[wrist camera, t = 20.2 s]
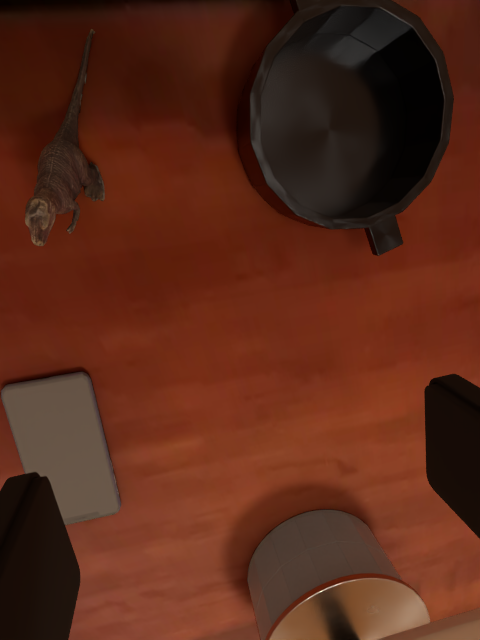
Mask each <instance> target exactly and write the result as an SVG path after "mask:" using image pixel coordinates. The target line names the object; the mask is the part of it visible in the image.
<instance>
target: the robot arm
mask: <svg viewBox="0 0 480 640" xmlns="http://www.w3.org/2000/svg"><path fill="white" fill-rule="evenodd" d="M425 431H426V473H427V478H428V481H429V484H430V485H431V487H432V488H433V490H434V491H435V492H436V493H437V494H438V495H439V496H440V497H441V498H442V499H443V500H444V501H445V502H446V503H447V504H448V505H449V507H450V508H451V509H452V510H453V511H454V512H455V513H456V514H457V515H458V516H459V517H460V518H461V519H462V520H463V521H464V522H465V523H466V525H467V526H468V527H469V528H470V529H471V530H472V531H473V532H474V533H475V534H476V535H477V536H478V537H479V538H480V388H479V387H477V386H476V385H474V384H472V383H471V382H469V381H467V380H465V379H464V378H462V377H460V376H459V375H456V374H450V375H446V376H442V377H438V378H433V379H432V380H431V381H430V383H429V386H427V387H426V388H425ZM79 586H80V569H79V565H78V562H77V559H76V556H75V553H74V550H73V548H72V545H71V542H70V539H69V536H68V533H67V530H66V527H65V524H64V521H63V518H62V516H61V513H60V510H59V507H58V504H57V501H56V498H55V495H54V492H53V489H52V486H51V483H50V481H49V479H48V477H47V476H43V477H40V475H39V474H38V473H37V472H31V473H27V474H23V475H19V476H14V477H10V478H8V479H7V480H6V482H5V484H4V485H3V487H2V489H1V491H0V640H68V638H69V634H70V629H71V624H72V619H73V615H74V610H75V605H76V600H77V596H78V591H79ZM377 640H480V608H477V609H474V610H471V611H467V612H464V613H461V614H458V615H454V616H451V617H448V618H445V619H441V620H438V621H435V622H432V623H428V624H425V625H422V626H419V627H416V628H412V629H409V630H406V631H403V632H400V633H397V634H393V635H390V636H387V637H384V638H381V639H377Z"/></svg>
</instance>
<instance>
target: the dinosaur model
mask: <svg viewBox="0 0 480 640" xmlns="http://www.w3.org/2000/svg"><path fill="white" fill-rule="evenodd" d="M93 33H95V31H94V30H93V29H91V30H90V33H89V35H88V37H87V40H86V44H85V48H84V53H83V57H82V58H83V59H82V63H81V67H80V72H79V76H78V80H77V83H76V86H75V89H74V92H73V96H72V100H71V102H70V105H69V107H68V111H67V113H66V116H65V119H64V121H63V123H62V125H61V127H60V129H59V131H58V132H57V133H56V135H55V137H54V139H53V141H52V142H50V143H49V144H48V145H47V146H46V147H45V148H43V150H42V152H41V155H40V158H39V162H38V176H37V184H36V186H35V189H34V196H33V197H32V198H30V200H29V201H28V203H27V205H26V212H25V214H26V216H25V222H26V225H27V226H28V228H29V231H30V235H31V238H32V242H33V243H34V244H35V245H37V246H44V244H45V243H46V242H47V238H48V235H49V233H50V230H51V228H52V226H53V224H54V221H55V218H56V214H65V213H67V212H70V211H71V210H74V212H73V219H72V223H71V225H70V226H69V227H68V229H67V230H66V231H69V233H71V232H72V231H73V230H74V228H75V225H76V221H78V219H79V214H80V208H79V205H78V203H77V202H75V199H76V197H77V196H78V194H79V193H80V189H81V187H82V185H84V186H85V189H84V191H85V195H86V196H87V197H91V198H92V201H96V200H97V199H100V200H101V201H103V200H104V183H103V180H102V177H101V175H100V172H99V170H98V167H97V166H96V165H95V164H93V163H92V162H91V163H90V164H89V166H88V163H87V160H86V158H85V156H84V154H83V153H82V151H81V150H80V149H79V144H78V114H79V113H80V110H79V106H80V107H81V102H80V101H81V98H82V96H81V95H82V89H83V84H84V80H85V81H86V76H87V73H86V70H87V63H88V56H89V52H90V47H91V39H92V36H93ZM85 74H86V76H85ZM85 83H86V82H85Z"/></svg>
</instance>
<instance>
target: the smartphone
mask: <svg viewBox="0 0 480 640" xmlns="http://www.w3.org/2000/svg"><path fill="white" fill-rule="evenodd" d="M1 398H2V402H3V405H4V408H5V411H6V414H7V418H8V421H9V424H10V427H11V430H12V434H13V437H14V440H15V443H16V446H17V450H18V453H19V456H20V459H21V463H22V466H23V469H24V472H25V474H27V473H31V472H37V473H38V474H39V475H40V477H43V476H47V477H48V479H49V481H50V483H51V486H52V489H53V492H54V495H55V498H56V501H57V504H58V507H59V510H60V513H61V516H62V518H63V521H64V524H65V525H68V524H73V523H77V522H82V521H86V520H91V519H95V518H100V517H104V516H109V515H113V514H115V513H117V512H118V511H119V509H120V506H121V501H120V497H119V493H118V489H117V485H116V479H115V475H114V472H113V466H112V462H111V460H110V456H109V452H108V447H107V443H106V439H105V435H104V431H103V427H102V423H101V419H100V415H99V410H98V406H97V402H96V398H95V394H94V390H93V386H92V382H91V378H90V377H89V375H88V374H86V373H85V372H76V373H70V374H65V375H59V376H53V377H48V378H42V379H36V380H31V381H25V382H19V383H14V384H8V385H5V387H4V388H3V389H2V390H1Z"/></svg>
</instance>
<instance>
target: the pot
mask: <svg viewBox="0 0 480 640" xmlns="http://www.w3.org/2000/svg"><path fill="white" fill-rule="evenodd" d="M360 573H376V574H384V575H388V576H392V577H395V578H397V579H400V580H402V579H401V577H400V576H399V574H398V573H397V571H396V569H395V568H394V566H393V565H392V563H391V562H390V560H389V558H388V557H387V555H386V554H385V552H384V551H383V549H382V547H381V546H380V544H379V543H378V541H377V540H376V538H375V536H374V535H373V533H372V532H371V530H370V529H369V527H368V526H367V525H366V524H365V523H364V522H363V521H361V520H360V519H359V518H357V517H355V516H353V515H351V514H349V513H346V512H343V511H337V510H315V511H310V512H306V513H303V514H300V515H297V516H295V517H293V518H290V519H288V520H287V521H285V522H283V523H281V524H280V525H279V526H277V527H276V528H275V529H273V530H272V531H271V532H270V533H269V534H268V535H267V536H266V537H265V538H264V539H263V540H262V541H261V543H260V544H259V546H258V547H257V548H256V550H255V552H254V554H253V556H252V558H251V561H250V564H249V569H248V578H247V581H248V587H249V592H250V597H251V602H252V606H253V610H254V615H255V619H256V624H257V628H258V633H259V637H260V640H265V639H266V636H267V634H268V632H269V630H270V629H271V627H272V625H273V624H274V622H275V621H276V620H277V618H278V617H279V616H280V615H281V614H282V613H283V611H284V610H285V609H286V608H287V607H288V606H289V605H291V604H292V603H293V602H294V601H295V600H296V599H298V598H299V597H301V596H302V595H303V594H305V593H306V592H308V591H310V590H311V589H313V588H315V587H317V586H319V585H321V584H323V583H325V582H327V581H330V580H333V579H336V578H339V577H343V576H347V575H353V574H360ZM402 581H403V580H402Z"/></svg>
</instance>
